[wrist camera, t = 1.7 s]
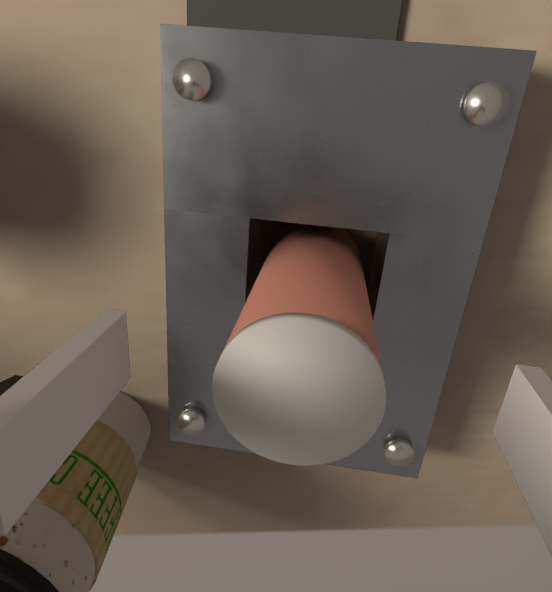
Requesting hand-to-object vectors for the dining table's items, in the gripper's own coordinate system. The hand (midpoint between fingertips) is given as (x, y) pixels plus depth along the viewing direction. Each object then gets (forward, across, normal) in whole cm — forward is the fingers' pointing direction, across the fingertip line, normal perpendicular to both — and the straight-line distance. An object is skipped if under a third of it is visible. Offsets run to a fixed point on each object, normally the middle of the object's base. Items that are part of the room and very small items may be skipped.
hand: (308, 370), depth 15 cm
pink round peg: (+11, 0, 0) cm, 11 cm away
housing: (+11, 0, 0) cm, 11 cm away
